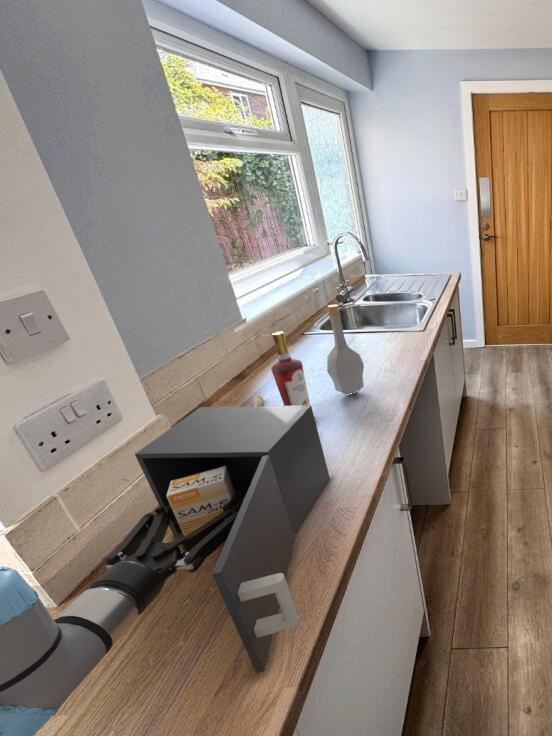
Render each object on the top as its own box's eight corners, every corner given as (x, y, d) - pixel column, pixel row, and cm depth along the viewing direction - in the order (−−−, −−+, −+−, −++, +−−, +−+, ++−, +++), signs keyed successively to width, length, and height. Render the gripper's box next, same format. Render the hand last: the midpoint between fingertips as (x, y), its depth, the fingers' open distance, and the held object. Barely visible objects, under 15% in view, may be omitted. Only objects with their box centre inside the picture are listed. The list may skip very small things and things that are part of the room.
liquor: (303, 416, 119) (279, 327, 108) (322, 420, 117) (300, 330, 106) (282, 430, 113) (254, 336, 102) (302, 434, 110) (276, 339, 100)
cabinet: (295, 536, 78) (267, 452, 70) (174, 537, 79) (134, 453, 71) (330, 480, 93) (311, 405, 85) (228, 481, 94) (200, 407, 86)
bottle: (352, 406, 124) (333, 313, 112) (325, 400, 128) (303, 309, 116) (376, 389, 134) (361, 302, 122) (350, 384, 138) (332, 299, 126)
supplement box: (190, 555, 71) (163, 497, 66) (194, 536, 75) (169, 480, 70) (245, 535, 75) (223, 479, 69) (246, 518, 78) (225, 463, 73)
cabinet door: (325, 531, 79) (302, 448, 71) (305, 658, 58) (269, 560, 50) (290, 540, 77) (262, 456, 70) (256, 673, 56) (211, 574, 48)
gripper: (50, 620, 57) (175, 503, 78) (200, 621, 56) (286, 503, 77) (23, 584, 54) (161, 472, 75) (181, 584, 54) (276, 471, 74)
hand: (224, 488), depth 76 cm, fingers closed on supplement box, 9 cm apart
